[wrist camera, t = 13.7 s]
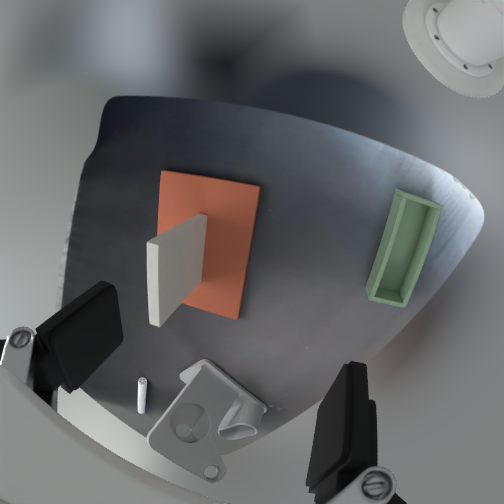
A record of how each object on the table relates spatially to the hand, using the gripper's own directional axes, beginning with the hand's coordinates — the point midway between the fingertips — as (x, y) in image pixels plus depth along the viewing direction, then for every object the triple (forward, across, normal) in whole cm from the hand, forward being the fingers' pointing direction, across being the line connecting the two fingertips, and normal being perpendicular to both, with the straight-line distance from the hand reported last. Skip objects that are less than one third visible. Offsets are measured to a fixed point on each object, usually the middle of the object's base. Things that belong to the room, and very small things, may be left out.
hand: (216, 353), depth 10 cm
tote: (+26, -14, +1) cm, 30 cm away
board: (+25, +12, +8) cm, 29 cm away
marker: (+25, +25, +54) cm, 64 cm away
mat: (+26, +12, +8) cm, 29 cm away
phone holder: (+25, +5, +38) cm, 46 cm away
